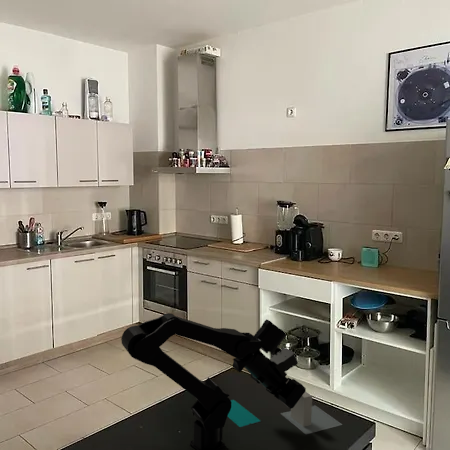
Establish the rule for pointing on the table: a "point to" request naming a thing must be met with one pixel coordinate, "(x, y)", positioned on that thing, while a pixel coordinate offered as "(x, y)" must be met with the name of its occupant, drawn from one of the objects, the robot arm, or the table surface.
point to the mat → (314, 421)
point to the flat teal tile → (241, 415)
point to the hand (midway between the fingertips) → (294, 400)
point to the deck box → (303, 410)
